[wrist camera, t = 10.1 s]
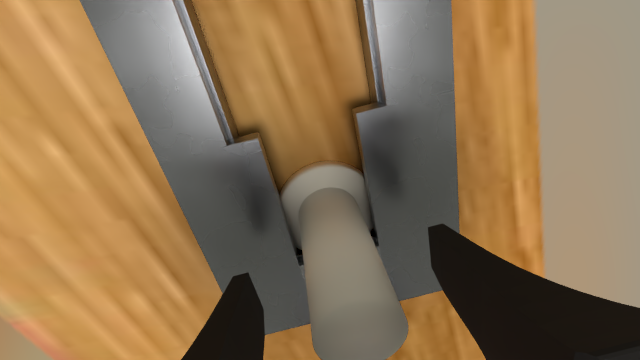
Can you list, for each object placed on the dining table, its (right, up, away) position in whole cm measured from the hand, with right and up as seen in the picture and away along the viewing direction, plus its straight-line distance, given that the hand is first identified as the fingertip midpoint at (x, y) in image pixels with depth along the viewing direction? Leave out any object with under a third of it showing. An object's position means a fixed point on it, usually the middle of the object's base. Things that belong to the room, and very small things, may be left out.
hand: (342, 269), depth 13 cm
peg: (-1, +2, +4) cm, 5 cm away
